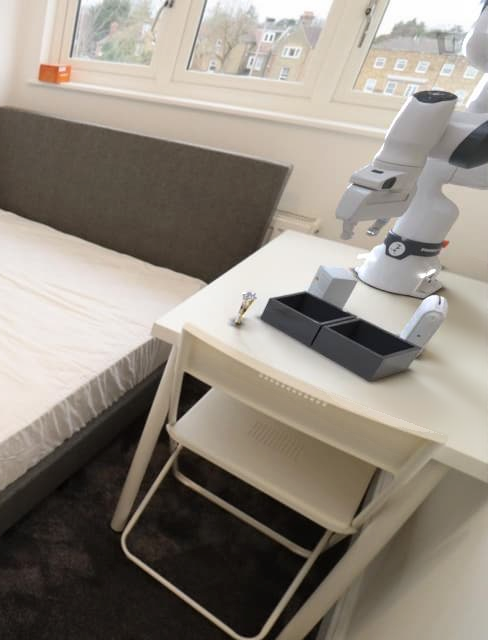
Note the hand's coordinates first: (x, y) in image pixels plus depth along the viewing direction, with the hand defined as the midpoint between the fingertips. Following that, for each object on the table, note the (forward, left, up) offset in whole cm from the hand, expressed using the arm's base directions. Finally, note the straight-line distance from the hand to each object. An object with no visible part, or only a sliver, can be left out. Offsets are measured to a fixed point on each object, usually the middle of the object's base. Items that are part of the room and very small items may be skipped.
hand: (358, 237), depth 116 cm
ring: (+26, -2, -20) cm, 32 cm away
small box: (0, 0, -20) cm, 20 cm away
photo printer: (-4, +19, -20) cm, 28 cm away
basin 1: (+12, +5, -20) cm, 24 cm away
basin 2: (+12, +18, -20) cm, 29 cm away
